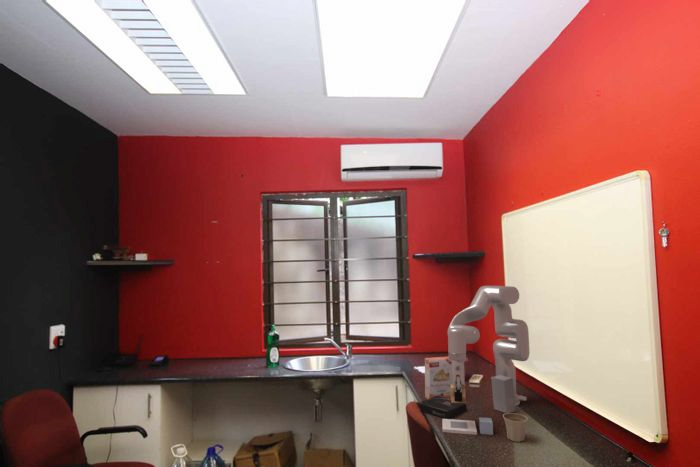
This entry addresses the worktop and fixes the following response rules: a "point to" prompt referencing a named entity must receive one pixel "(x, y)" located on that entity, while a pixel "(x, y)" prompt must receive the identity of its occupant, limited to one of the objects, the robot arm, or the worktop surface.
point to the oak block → (462, 394)
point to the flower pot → (515, 426)
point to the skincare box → (503, 394)
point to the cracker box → (438, 377)
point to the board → (459, 426)
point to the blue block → (485, 426)
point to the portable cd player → (442, 407)
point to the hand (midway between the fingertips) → (458, 398)
